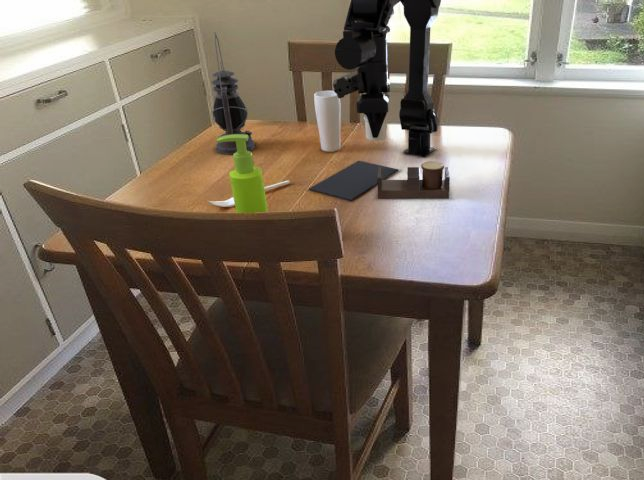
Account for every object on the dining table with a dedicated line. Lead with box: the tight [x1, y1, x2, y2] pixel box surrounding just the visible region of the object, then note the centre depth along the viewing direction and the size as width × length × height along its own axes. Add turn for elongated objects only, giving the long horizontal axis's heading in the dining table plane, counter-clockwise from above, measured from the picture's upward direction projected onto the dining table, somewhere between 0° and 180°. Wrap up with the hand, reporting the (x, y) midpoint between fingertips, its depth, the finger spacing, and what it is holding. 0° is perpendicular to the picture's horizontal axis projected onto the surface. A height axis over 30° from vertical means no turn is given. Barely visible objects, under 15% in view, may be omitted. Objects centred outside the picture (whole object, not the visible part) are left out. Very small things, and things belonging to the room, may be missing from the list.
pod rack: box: [376, 166, 451, 200], centre depth 119 cm, size 6×16×5 cm, turn 87°
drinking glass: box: [313, 90, 342, 153], centre depth 141 cm, size 7×7×15 cm
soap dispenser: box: [216, 134, 269, 213], centre depth 100 cm, size 6×7×20 cm
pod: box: [420, 160, 445, 189], centre depth 117 cm, size 5×5×5 cm
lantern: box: [210, 32, 256, 156], centre depth 140 cm, size 12×11×30 cm
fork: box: [208, 180, 291, 208], centre depth 120 cm, size 3×20×2 cm, turn 132°
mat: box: [308, 160, 399, 202], centre depth 127 cm, size 20×12×1 cm, turn 147°
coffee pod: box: [363, 114, 388, 142], centre depth 116 cm, size 5×5×5 cm
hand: (375, 133), depth 116 cm, fingers closed on coffee pod, 4 cm apart
